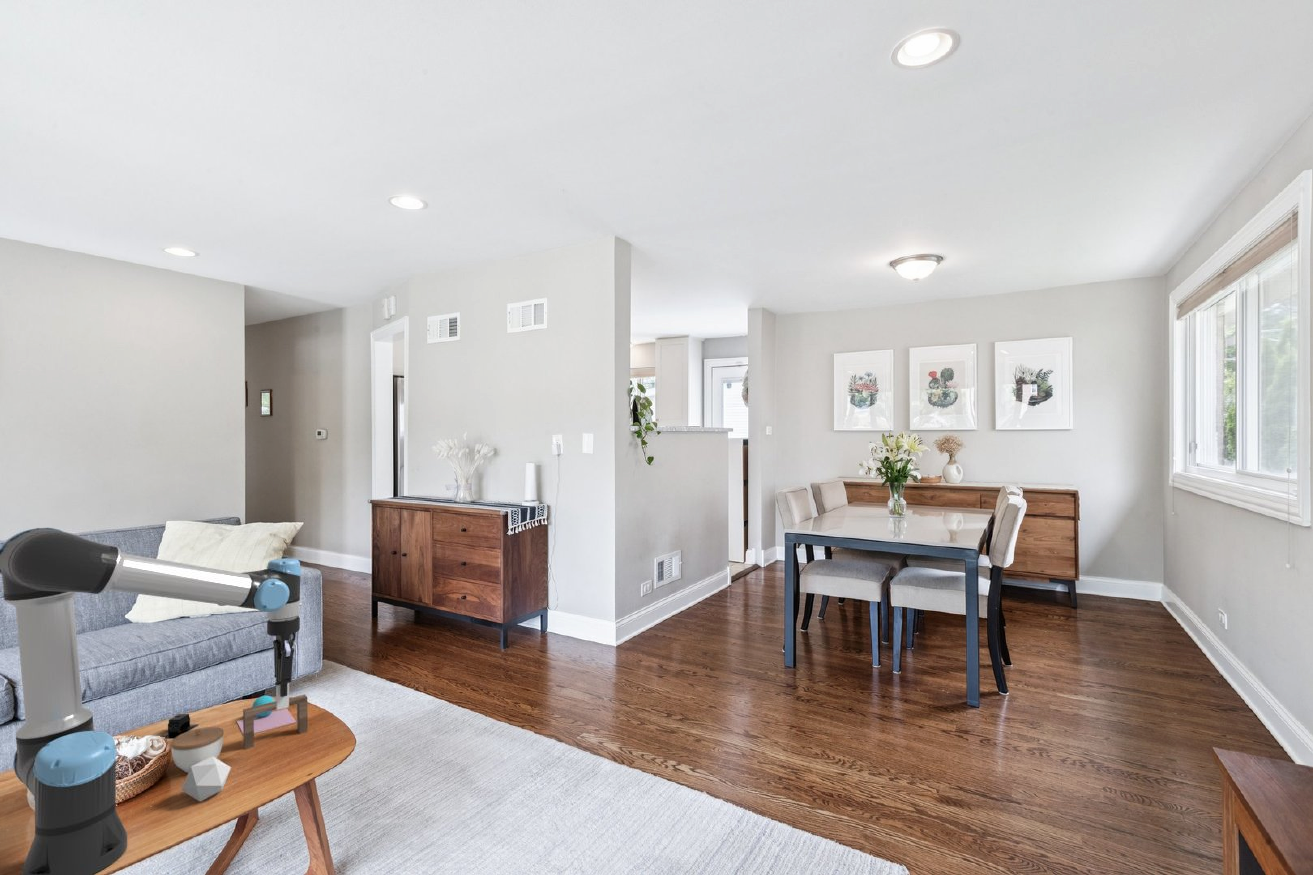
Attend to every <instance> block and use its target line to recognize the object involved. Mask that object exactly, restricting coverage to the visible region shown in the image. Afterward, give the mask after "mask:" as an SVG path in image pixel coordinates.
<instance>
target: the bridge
mask: <svg viewBox="0 0 1313 875" xmlns="http://www.w3.org/2000/svg"><path fill="white" fill-rule="evenodd" d="M294 705H295V706H296V723H297V725H296V726H297V727H296V731H297V732H298V733H299V734H303V733H308V730H309V729H308V724H309V722H308V718H309V716H308V696H307V695H306V694H304V693H303V694H301V695H295V696H292V697H289V707H291V706H294ZM272 710H273V711H277V709H276V700H275V702H271V703H267V704H263V705H259V706H255V707H247V708H244V709H242V713H243V714H242V717H243V718H242V720H243V733H242V735H243V737H242V738H243V741H242V742H243V744H242V746H243V747H244V749H245V750H247V749H250V748H254V747H255V734H254V717H255V716H256V714H260V713H264V712H268V711H272Z"/></svg>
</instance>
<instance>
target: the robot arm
mask: <svg viewBox="0 0 1313 875" xmlns="http://www.w3.org/2000/svg"><path fill="white" fill-rule="evenodd" d="M301 570H302V569H301V563H300V560H298V559H297V558H286V557H284V558H277V559H272V560H269V562H268V564H267V567H266V569H260V570H252V571H245V572H235V571H229V570H224V569H217V568H212V567H206V566H200V565H193V564H189V563H182V562H176V561H172V560H171V561H170V560H165V559H158V558H152V557H147V556H142V555H134V554H130V553H124V552H122V551H121V549H120V547H118V546H113V545H107V544H103V543H99V542H96V541H92V540H89V539H86V538H83V537H81V536H78V535H75V534H73V533H70V532H66V531H63V530H61V529H58V528H55V527H36V528H31V529H26V530H23V531H20V532H17V533H16V534H14V535H12V536H11V537H9V538H8V539H6V541H5V542H4V543H3V544H2V545H1V546H0V575H1V578H2V589H3V590H2V591H3V599H4V602H5V603H6V604H9V605H12V606H13V607H15V614H16V625H17V637H18V650H19V661H20V674H21V684H22V685H21V686H22V694H23V695H22V697H23V698H22V699H23V706H24V707H23V708H24V710H23V711H24V720H25V722H24V723H23V725H22V726H21V727H20V728H18V729H17V731H16V732H15V743H16V750H15V753H14V756H13V764H12V765H13V771H14V773H15V775H16V777H17V778H18V779H19V781H20V782H21V783H23V784H24V785H25V787H26V788H27V789H28V791H29V792H30V793H31V794H32V796H33V798H34V799H33V800H34V831H35V832H34V837H33V841H32V843H31V845H30V847H29V850H28V853H27V855H26V858H25V860H24V864H23V865H22V868H21V869H22V870H21V875H95V874H97V873H98V872H100V871H102V870H104V869H106V868H107V867H109V866H111V865H112V864H113V863H115V862H116V861H117V860H119V859H120V858H121V857H122V856H123V855H124V854H125V852H126V850H127V848H128V832H127V830H126V829H125V826H124V825H123V823H122V820H121V819H120V816H119V815H118V813H117V806H116V804H117V802H116V800H117V799H116V797H117V796H116V794H117V793H116V792H117V788H116V787H117V784H116V783H117V781H116V777H117V776H116V774H117V773H116V772H117V771H116V770H117V769H116V768H117V766H116V765H117V764H116V760H117V759H116V758H117V755H118V753H117V747H116V740H115V739H114V737H113V736H112V735H111V734H109V733H108V732H106V731H99V730H98V731H96V732H95V727H94V717H93V716H94V715H93V712H92V710H89V709H86V708H84V707H83V699H82V698H83V697H82V689H81V686H82V685H81V676H80V674H81V673H80V663H79V650H78V639H77V627H76V626H77V625H76V616H75V615H76V614H75V602H74V600H75V599H74V597H75V596H76V595H77V594H78V593H84V594H85V593H86V594H93V595H100V594H102V593H104V592H107V591H112V592H119V593H127V594H137V595H143V596H151V597H160V598H167V599H177V600H184V601H191V602H198V603H206V604H207V603H208V604H213V605H214V604H215V605H217V606H220V607H224V606H228V607H229V606H230V607H237V608H238V607H239V608H244V609H251V610H257V611H259V612H263V613H264V612H266V618H267V619H268V620H267V621H266V634H267V635H268V636H271V637H275V639H274V640H273V641H272V644H273V659H274V660H273V661H274V662H273V663H274V664H273V665H274V667H273V668H274V675H273V676H274V678H275V683H274V686H276V687H275V688H276V689H275V690H276V692H275V693H276V694H275V701H276V711H278V710H282V709H286V708H287V709H288V708H289V707H290V706H289V698H290V683H292V675H293V674H292V673H293V659H294V654H295V649H294V647H293V646H294V640H293V639H292V635H293V634H295V633H298V632H299V631H300V628H301V619H300V618H301V617H300V615H301V614H300V613H301V608H300V607H302V606H303V602H301V601H300V600H301V577H302V574H301V572H302V571H301Z"/></svg>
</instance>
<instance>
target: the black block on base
mask: <svg viewBox="0 0 1313 875" xmlns="http://www.w3.org/2000/svg"><path fill="white" fill-rule="evenodd" d="M199 725H200V724H199V723H198V724H197V723H196V724H195V723H193V724H192V723H191V717H190V714H189V713H177V714H176V715H174V717H171V718H169V719H168V723H167V733H165V734H163V735H162V736H163V737H165V738H166V739H165V740H173V739H174V738H176V737H177V736H179V735H181V734H183V733H185V732H188V731H191V730H194V729H196V727H198V726H199Z"/></svg>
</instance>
